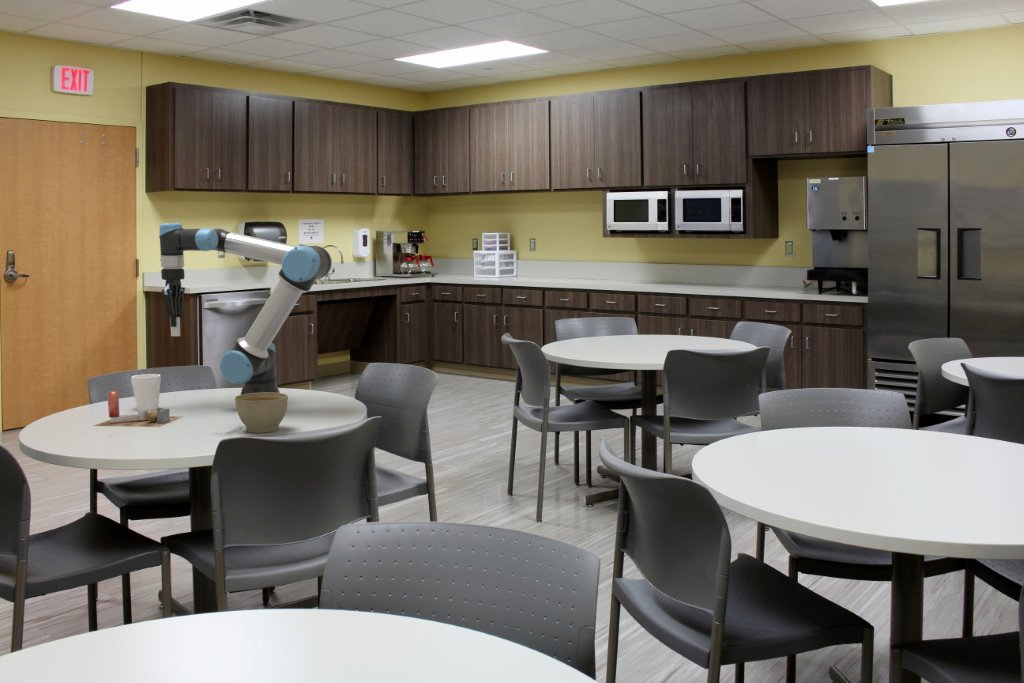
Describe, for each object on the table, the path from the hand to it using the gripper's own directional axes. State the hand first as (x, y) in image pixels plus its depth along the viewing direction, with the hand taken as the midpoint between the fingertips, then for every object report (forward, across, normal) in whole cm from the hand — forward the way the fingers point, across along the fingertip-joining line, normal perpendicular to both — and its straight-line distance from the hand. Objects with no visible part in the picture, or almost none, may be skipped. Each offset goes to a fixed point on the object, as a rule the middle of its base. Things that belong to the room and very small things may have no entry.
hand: (175, 335), depth 329 cm
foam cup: (+27, +5, -9) cm, 29 cm away
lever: (+25, +26, -1) cm, 36 cm away
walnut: (+23, +28, +4) cm, 37 cm away
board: (+26, +26, -1) cm, 37 cm away
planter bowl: (+27, +31, +42) cm, 59 cm away
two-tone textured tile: (+25, +28, +8) cm, 38 cm away
